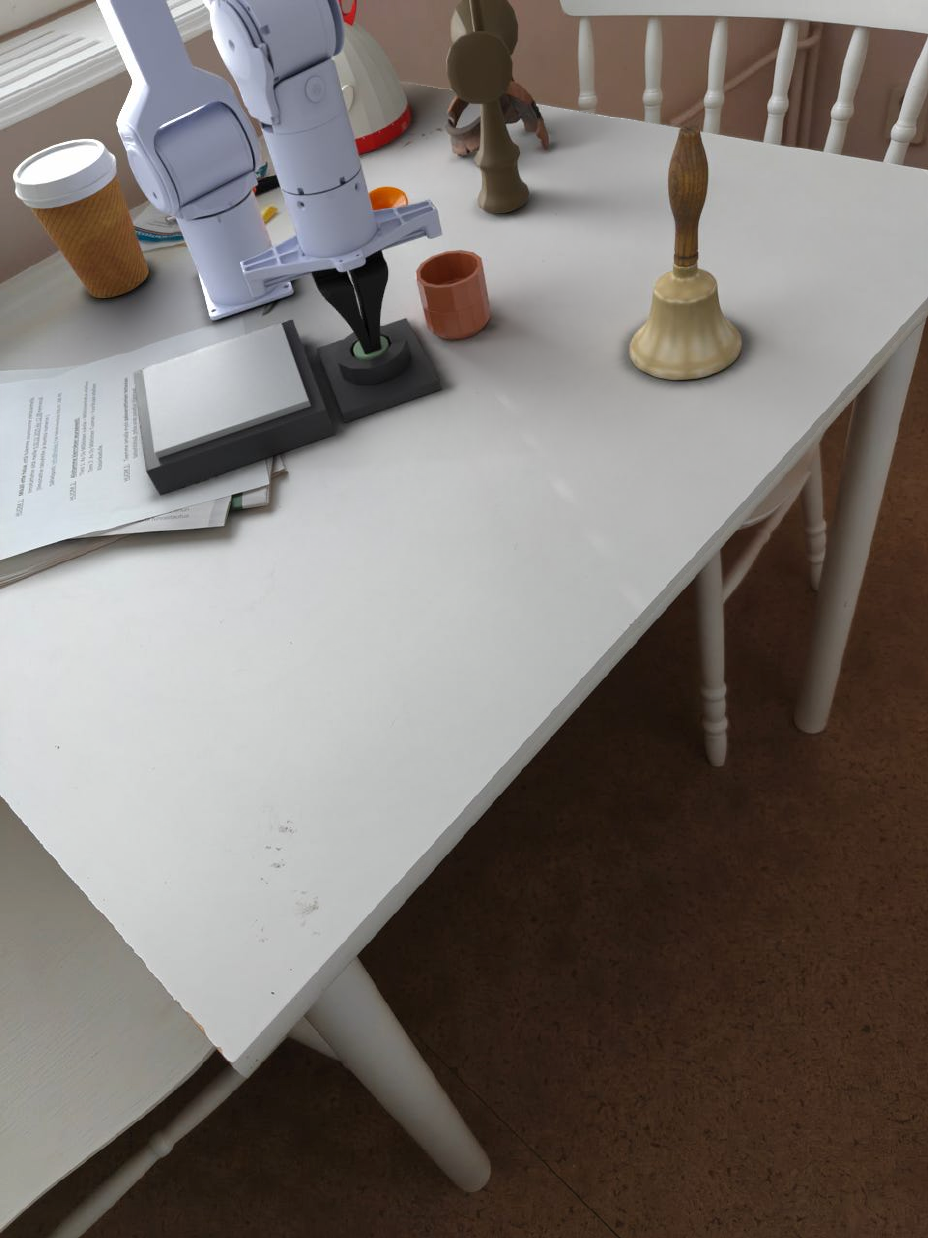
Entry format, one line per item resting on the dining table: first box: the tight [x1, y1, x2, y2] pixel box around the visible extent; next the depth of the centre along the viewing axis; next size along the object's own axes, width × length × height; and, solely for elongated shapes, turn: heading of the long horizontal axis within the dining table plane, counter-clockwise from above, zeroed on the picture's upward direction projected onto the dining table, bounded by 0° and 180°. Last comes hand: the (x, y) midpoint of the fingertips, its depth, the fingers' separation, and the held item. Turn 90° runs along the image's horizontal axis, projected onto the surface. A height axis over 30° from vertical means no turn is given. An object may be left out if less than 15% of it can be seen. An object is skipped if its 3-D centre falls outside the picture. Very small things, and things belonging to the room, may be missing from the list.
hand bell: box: [628, 124, 743, 381], centre depth 64 cm, size 8×8×16 cm
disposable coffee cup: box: [12, 138, 150, 299], centre depth 89 cm, size 10×10×12 cm
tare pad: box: [316, 317, 443, 423], centre depth 74 cm, size 10×8×2 cm
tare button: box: [353, 336, 389, 359], centre depth 74 cm, size 3×3×2 cm
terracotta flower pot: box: [414, 249, 492, 341], centre depth 76 cm, size 5×6×5 cm
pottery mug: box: [444, 75, 550, 157], centre depth 96 cm, size 12×10×8 cm
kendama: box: [445, 0, 530, 214], centre depth 82 cm, size 6×10×20 cm, turn 176°
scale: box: [132, 318, 336, 496], centre depth 74 cm, size 14×14×3 cm
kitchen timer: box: [331, 0, 412, 156], centre depth 101 cm, size 14×14×15 cm
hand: (370, 345), depth 73 cm, fingers closed, pressing on tare button
